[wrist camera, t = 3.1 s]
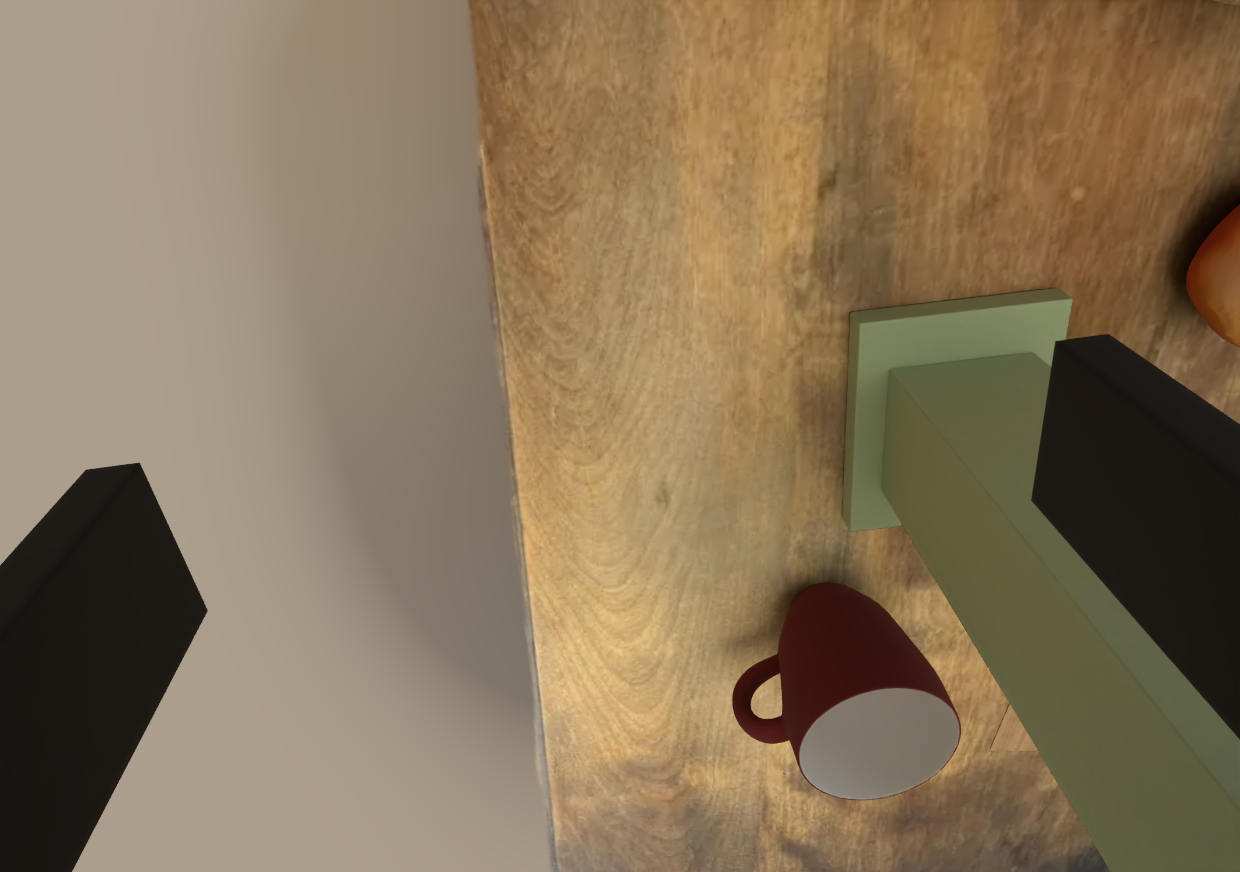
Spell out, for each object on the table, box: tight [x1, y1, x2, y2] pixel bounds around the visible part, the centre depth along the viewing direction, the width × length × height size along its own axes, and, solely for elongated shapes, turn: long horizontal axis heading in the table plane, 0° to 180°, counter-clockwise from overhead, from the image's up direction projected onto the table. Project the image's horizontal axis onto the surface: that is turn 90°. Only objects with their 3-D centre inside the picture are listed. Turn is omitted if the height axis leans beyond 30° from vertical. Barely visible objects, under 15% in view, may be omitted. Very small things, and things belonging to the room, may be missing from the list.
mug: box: [732, 582, 961, 800], centre depth 46 cm, size 11×8×10 cm
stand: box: [842, 288, 1240, 872], centre depth 31 cm, size 12×10×30 cm
